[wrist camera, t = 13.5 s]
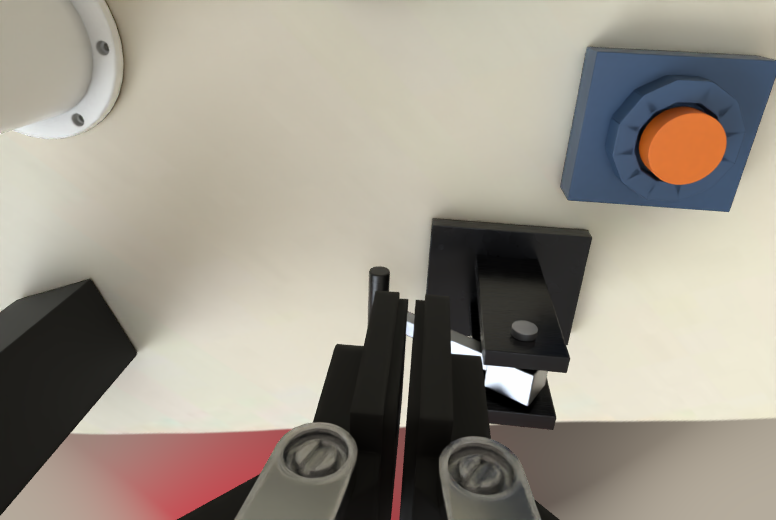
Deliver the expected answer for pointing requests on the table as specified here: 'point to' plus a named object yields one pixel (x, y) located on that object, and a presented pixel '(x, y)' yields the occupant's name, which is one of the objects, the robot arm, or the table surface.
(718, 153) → the button
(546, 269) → the lever bracket
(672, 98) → the control block
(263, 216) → the table surface
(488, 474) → the robot arm
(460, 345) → the lever
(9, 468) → the tissue box
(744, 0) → the table surface
